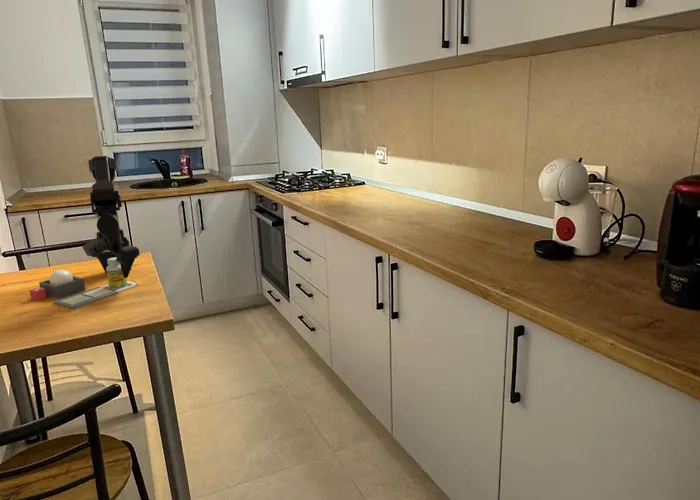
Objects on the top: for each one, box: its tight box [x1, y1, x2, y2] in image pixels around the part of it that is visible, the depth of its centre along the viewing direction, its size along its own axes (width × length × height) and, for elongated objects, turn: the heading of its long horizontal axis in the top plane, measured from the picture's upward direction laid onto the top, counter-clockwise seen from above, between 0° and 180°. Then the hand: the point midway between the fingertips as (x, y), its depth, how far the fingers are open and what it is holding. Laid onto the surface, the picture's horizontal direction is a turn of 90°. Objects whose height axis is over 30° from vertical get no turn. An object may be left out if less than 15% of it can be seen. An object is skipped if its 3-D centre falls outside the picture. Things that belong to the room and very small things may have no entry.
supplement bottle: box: [106, 257, 129, 291], centre depth 162 cm, size 5×5×10 cm
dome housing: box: [29, 275, 87, 302], centre depth 158 cm, size 13×9×4 cm
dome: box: [48, 269, 74, 286], centre depth 159 cm, size 7×7×6 cm
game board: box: [53, 280, 140, 310], centre depth 157 cm, size 22×10×1 cm, turn 148°
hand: (116, 275), depth 162 cm, fingers open, 9 cm apart
